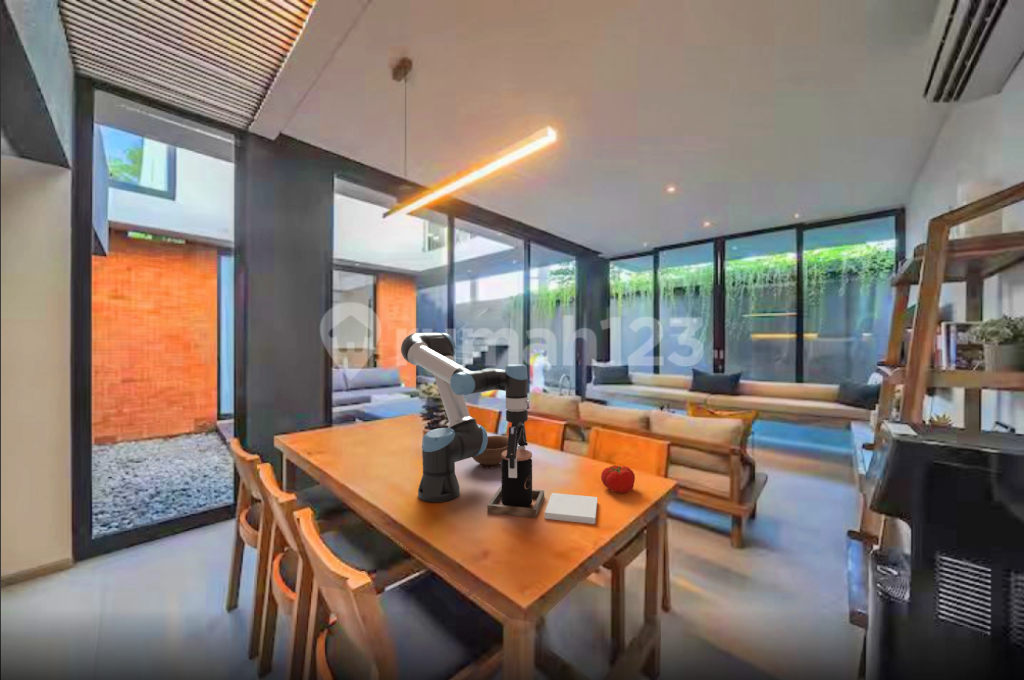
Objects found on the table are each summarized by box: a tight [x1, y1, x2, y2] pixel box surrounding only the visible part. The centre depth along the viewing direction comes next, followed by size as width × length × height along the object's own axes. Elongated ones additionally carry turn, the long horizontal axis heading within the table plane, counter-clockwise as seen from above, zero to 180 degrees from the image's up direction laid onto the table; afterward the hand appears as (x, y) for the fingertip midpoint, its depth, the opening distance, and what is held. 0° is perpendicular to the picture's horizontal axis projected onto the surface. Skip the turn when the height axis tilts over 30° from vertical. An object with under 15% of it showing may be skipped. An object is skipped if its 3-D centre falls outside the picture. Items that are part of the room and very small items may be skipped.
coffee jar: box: [500, 448, 533, 508], centre depth 143 cm, size 11×11×18 cm
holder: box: [486, 485, 545, 519], centre depth 143 cm, size 16×16×2 cm
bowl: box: [472, 435, 508, 469], centre depth 184 cm, size 22×22×11 cm
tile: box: [544, 492, 598, 525], centre depth 139 cm, size 16×16×2 cm
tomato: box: [600, 465, 636, 494], centre depth 155 cm, size 14×13×9 cm
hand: (517, 470), depth 143 cm, fingers open, 13 cm apart
